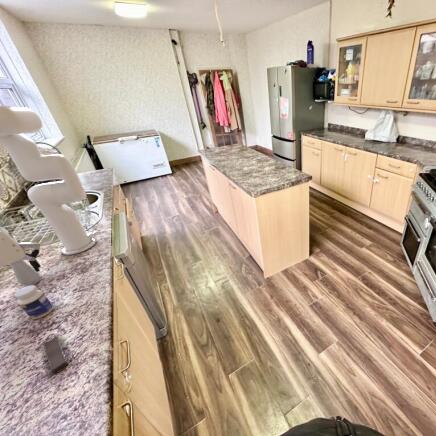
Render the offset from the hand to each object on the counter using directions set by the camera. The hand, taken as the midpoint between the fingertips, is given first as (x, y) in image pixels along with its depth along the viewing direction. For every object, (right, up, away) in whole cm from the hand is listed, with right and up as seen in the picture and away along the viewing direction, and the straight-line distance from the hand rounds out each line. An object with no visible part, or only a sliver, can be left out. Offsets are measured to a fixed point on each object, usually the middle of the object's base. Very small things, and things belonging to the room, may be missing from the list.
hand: (16, 278), depth 71 cm
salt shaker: (-17, -7, +20) cm, 27 cm away
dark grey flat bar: (+19, -19, -7) cm, 28 cm away
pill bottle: (+1, -13, +7) cm, 15 cm away
